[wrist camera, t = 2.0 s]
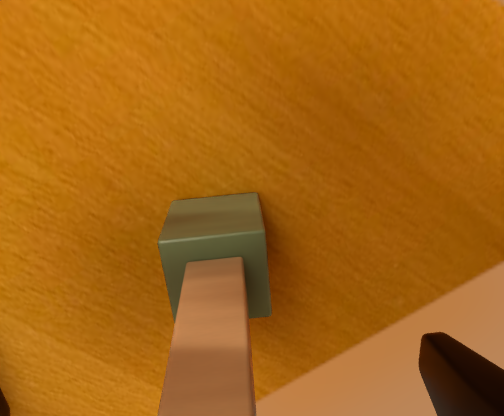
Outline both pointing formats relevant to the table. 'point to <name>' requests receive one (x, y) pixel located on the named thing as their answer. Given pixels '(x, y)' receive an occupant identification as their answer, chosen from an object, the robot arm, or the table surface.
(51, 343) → the table surface
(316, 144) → the table surface
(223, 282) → the scrub brush
